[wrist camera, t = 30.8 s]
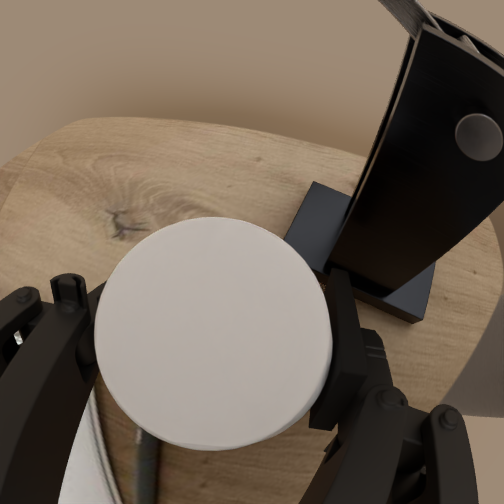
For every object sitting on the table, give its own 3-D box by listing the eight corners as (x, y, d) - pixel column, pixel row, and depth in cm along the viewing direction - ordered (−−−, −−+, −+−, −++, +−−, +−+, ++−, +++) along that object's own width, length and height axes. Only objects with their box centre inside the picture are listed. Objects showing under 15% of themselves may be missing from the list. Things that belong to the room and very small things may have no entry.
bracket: (275, 262, 17) (292, -5, 4) (310, 192, 19) (346, -18, 6) (412, 324, 15) (609, 201, 1) (429, 248, 17) (555, 99, 4)
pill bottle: (312, 322, 15) (396, 231, 5) (279, 422, 13) (312, 519, 3) (212, 290, 16) (142, 166, 6) (176, 385, 14) (38, 393, 4)
